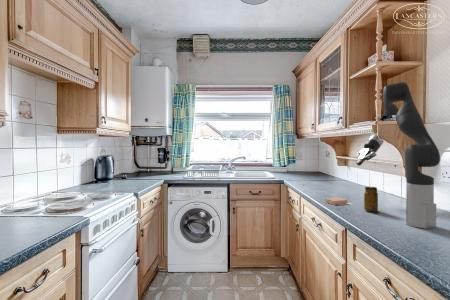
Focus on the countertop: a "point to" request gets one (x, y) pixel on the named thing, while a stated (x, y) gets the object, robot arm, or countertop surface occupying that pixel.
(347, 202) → the board
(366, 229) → the countertop surface
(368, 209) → the condiment
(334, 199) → the tile
